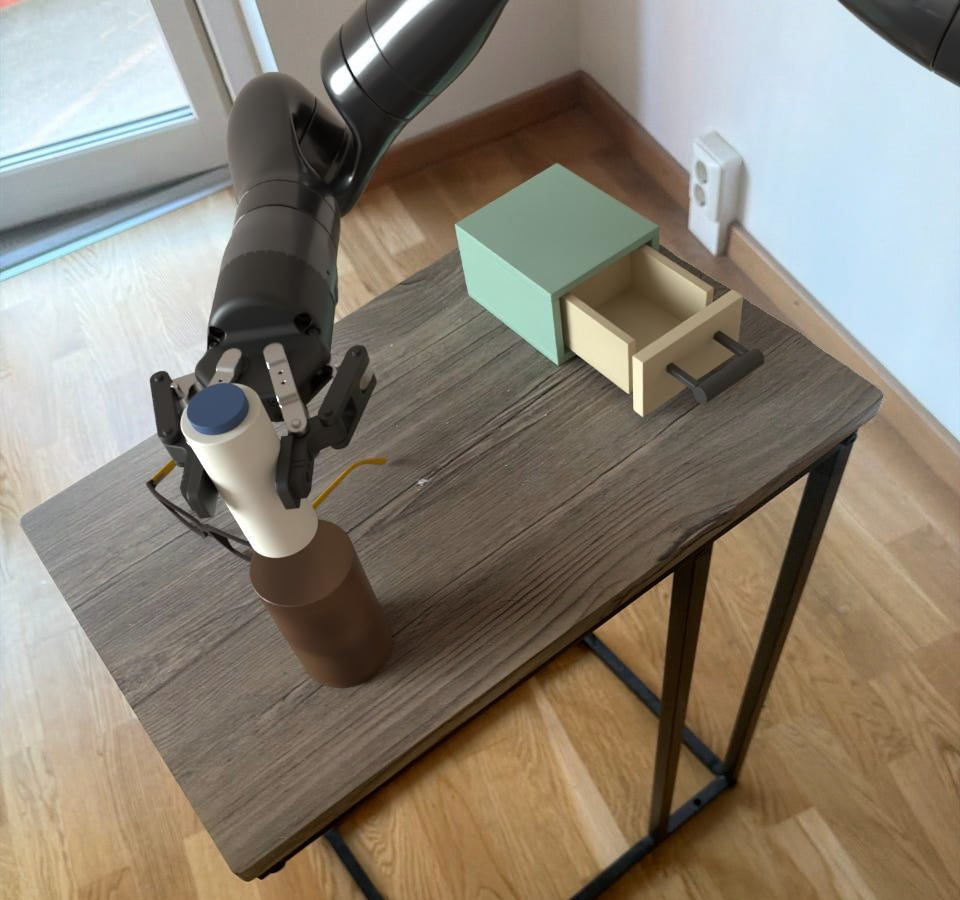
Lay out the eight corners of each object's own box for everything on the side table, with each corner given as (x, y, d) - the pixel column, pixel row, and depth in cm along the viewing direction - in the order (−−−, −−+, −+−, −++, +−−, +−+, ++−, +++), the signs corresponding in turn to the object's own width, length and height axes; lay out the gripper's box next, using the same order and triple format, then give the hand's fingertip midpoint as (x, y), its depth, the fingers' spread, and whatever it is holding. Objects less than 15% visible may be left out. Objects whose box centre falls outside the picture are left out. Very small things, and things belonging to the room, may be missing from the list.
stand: (390, 600, 71) (352, 510, 62) (394, 680, 68) (354, 596, 58) (302, 615, 72) (250, 528, 63) (301, 695, 68) (246, 614, 59)
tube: (318, 495, 58) (257, 367, 49) (318, 551, 56) (254, 427, 47) (250, 508, 59) (178, 383, 50) (248, 563, 56) (171, 443, 48)
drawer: (779, 381, 76) (789, 324, 71) (683, 449, 73) (686, 395, 69) (637, 284, 84) (636, 227, 79) (547, 343, 82) (541, 288, 77)
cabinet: (658, 300, 84) (659, 225, 77) (558, 366, 82) (550, 295, 75) (563, 236, 91) (557, 162, 84) (468, 295, 88) (454, 223, 82)
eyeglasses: (157, 519, 79) (135, 489, 76) (267, 407, 84) (251, 374, 81) (278, 587, 74) (261, 557, 70) (388, 462, 79) (377, 429, 75)
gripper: (145, 263, 58) (86, 473, 49) (369, 230, 56) (350, 442, 47) (195, 356, 64) (151, 557, 55) (398, 329, 62) (386, 533, 53)
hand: (243, 503), depth 51 cm, fingers closed on tube, 4 cm apart
